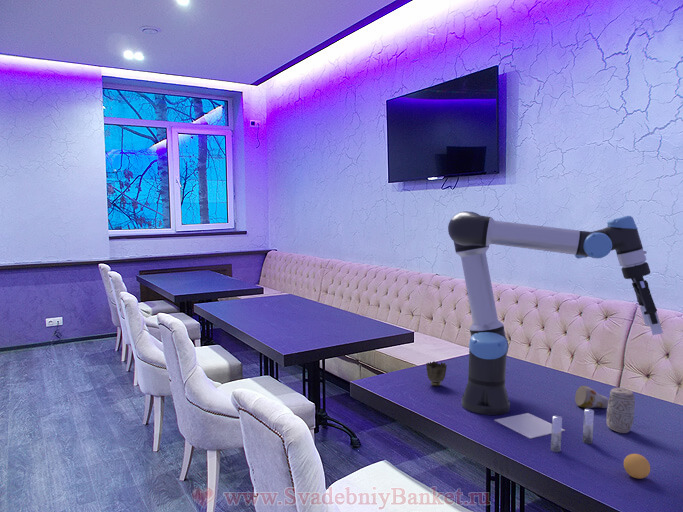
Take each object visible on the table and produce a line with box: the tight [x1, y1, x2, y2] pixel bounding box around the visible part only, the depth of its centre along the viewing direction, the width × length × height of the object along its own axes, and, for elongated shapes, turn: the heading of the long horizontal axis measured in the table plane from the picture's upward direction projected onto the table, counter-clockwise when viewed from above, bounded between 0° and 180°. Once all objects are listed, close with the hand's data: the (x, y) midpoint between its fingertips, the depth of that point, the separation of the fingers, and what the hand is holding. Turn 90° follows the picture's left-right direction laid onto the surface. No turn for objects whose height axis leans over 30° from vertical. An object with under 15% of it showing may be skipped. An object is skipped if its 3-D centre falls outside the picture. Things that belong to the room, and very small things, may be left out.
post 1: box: [550, 415, 563, 453], centre depth 132 cm, size 2×2×9 cm
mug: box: [574, 385, 609, 409], centre depth 165 cm, size 8×10×10 cm
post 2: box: [582, 408, 595, 445], centre depth 137 cm, size 2×2×9 cm
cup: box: [425, 360, 448, 387], centre depth 183 cm, size 8×7×8 cm
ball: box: [623, 453, 651, 479], centre depth 119 cm, size 6×6×6 cm
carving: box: [605, 387, 636, 434], centre depth 146 cm, size 6×8×12 cm
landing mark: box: [494, 412, 566, 440], centre depth 148 cm, size 14×14×1 cm
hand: (653, 329), depth 157 cm, fingers open, 13 cm apart
